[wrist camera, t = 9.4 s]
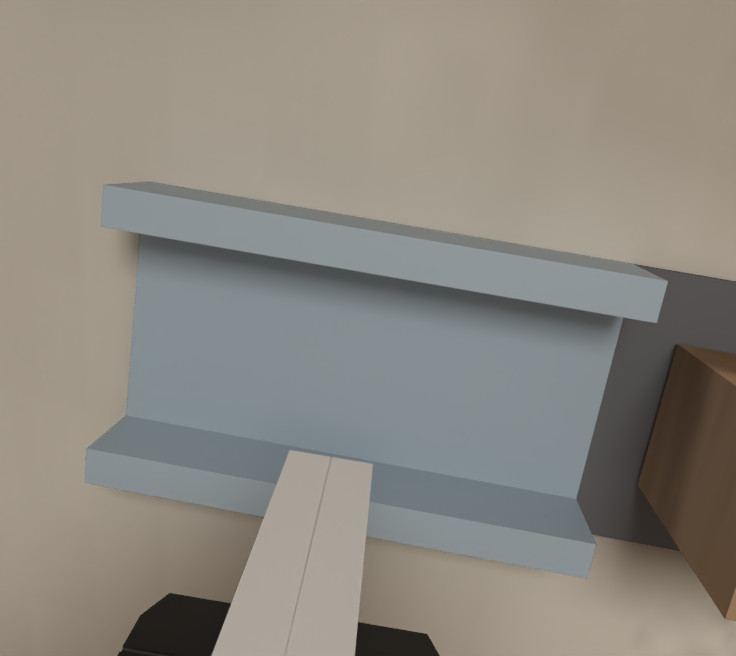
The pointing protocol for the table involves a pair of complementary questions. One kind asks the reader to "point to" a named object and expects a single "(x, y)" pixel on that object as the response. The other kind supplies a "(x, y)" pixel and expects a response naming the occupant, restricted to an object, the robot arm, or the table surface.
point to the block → (698, 467)
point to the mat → (647, 402)
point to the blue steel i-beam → (367, 369)
